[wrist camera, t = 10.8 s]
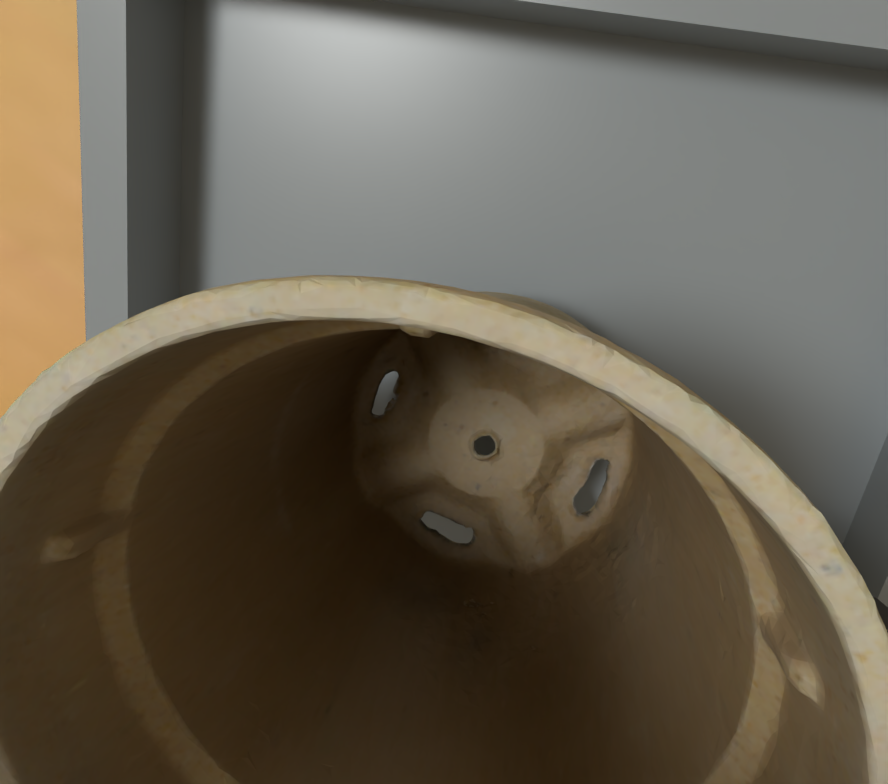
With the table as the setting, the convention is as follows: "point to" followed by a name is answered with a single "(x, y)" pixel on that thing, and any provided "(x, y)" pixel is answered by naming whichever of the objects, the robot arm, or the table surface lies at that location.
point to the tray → (530, 188)
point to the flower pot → (411, 559)
